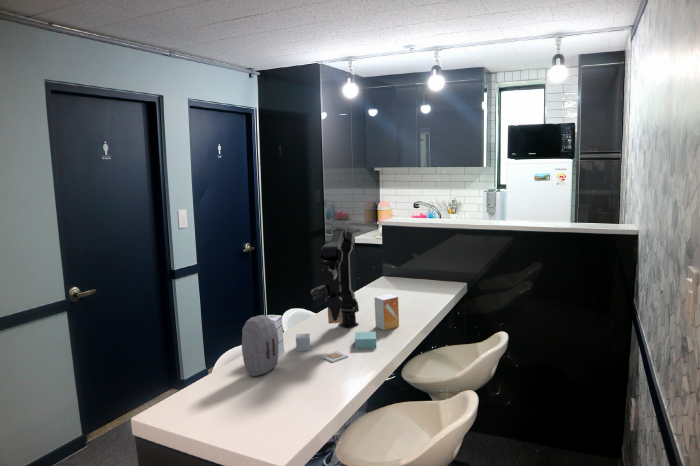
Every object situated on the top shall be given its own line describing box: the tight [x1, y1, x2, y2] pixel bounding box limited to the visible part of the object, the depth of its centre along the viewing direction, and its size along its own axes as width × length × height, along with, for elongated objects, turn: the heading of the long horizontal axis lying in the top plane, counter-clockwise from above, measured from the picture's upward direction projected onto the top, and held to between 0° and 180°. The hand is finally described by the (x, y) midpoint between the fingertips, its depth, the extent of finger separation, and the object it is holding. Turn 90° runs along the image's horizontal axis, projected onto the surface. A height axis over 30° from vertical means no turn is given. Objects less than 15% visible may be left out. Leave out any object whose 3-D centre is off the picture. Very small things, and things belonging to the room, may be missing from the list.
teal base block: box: [354, 331, 378, 350], centre depth 196 cm, size 8×8×4 cm
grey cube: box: [295, 333, 311, 352], centre depth 196 cm, size 5×5×5 cm
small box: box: [374, 293, 400, 331], centre depth 215 cm, size 8×6×13 cm
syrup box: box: [266, 314, 285, 358], centre depth 191 cm, size 6×6×14 cm
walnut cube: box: [327, 307, 342, 324], centre depth 195 cm, size 5×5×5 cm
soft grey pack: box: [241, 314, 279, 377], centre depth 174 cm, size 15×8×20 cm, turn 150°
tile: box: [321, 350, 349, 363], centre depth 186 cm, size 7×7×1 cm
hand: (335, 318), depth 195 cm, fingers closed on walnut cube, 5 cm apart
